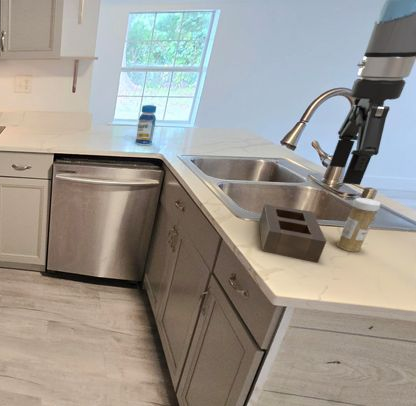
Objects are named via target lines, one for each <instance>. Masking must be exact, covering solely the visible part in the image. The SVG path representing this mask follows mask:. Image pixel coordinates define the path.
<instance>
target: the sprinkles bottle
mask: <svg viewBox="0 0 416 406" xmlns="http://www.w3.org/2000/svg"><path fill="white" fill-rule="evenodd" d="M381 205H382V203H381V202H379V201H378V200H375V199H372V198H366V197H357V198H355V199H354V201H353V203H352V207H351V210H350V213H349V214H348V217H347V219H346V221H345V224H344V227H343V229H342V231H341V235H340V237H339V239H338V242H337V243H336V246H337V247H338V248H340V249H342V250H344V251H348V252H360V251H362V246H363V243H364V242H365V240H366V237H367V235H368V232H369V231H370V228H371V226H372V223H373V220H374V218H375V216H376V214H377V212H378V211H379V210H380V208H381Z"/></svg>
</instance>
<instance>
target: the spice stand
mask: <svg viewBox="0 0 416 406" xmlns="http://www.w3.org/2000/svg"><path fill="white" fill-rule="evenodd" d="M258 225H259V226H258V227H259V235H260V241H261V242H260V243H261V250H262V252H265V253H270V254H275V255H278V256H282V257H283V256H284V257H288V258H294V259H298V260H303V261H307V262H312V263H319V261H320V258H321V256H322V255H323V251H324V249H325V246H326V244H327V240H326V237H325V235H324V232H323V230H322V228H321V226H320V224H319V222H318V219H317V217H316V215H315V212H314V211H310V210H304V209H297V208H292V207H286V206H285V207H284V206H278V205H272V204H266V203H265V204H264V205H263V208H262V211H261V214H260V216H259V221H258Z"/></svg>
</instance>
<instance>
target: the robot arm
mask: <svg viewBox="0 0 416 406" xmlns="http://www.w3.org/2000/svg"><path fill="white" fill-rule="evenodd" d="M415 62H416V0H385V1H384V3H383V4H382V7H381V8H380V10H379V13H378V14H377V17H376V20H375V21H374V23H373V28H372V31H371V35H370V37H369V40H368V43H367V47H366V49H365V52H364V55H363V58H362V61H358V62H357V64H356V66H357V67H359V68H358V72H357V74H356V76H357V77H359V78H357V79H355V80H354V82H353V84H352V87H351V90H350V93H349V96H350V97H351V98H354V100H353V102H352V105H351V107H350V109H349V111H348V113H347V115H346V116H345V119H344V121H343V122H342V124H341V126H340V128H339V130H338V132H337V135H338V140H337V143H336V146H335V149H334V151H333V154H332V157H331V159H330V162H329V167H336V168H344V169H345V168H346V165H347V163H348V160H349V157H350V155H351V159H350V161H349V163H348V166H347V168H346V171H345V174H344V176H343V178H342V180H341V182H342V183H343V184H348V185H349V184H350V185H357V186H359V185H361V183H362V181H363V178H364V176H365V173H366V171H367V168H368V166H369V164H370V161H371V159H372V157H373V156H377V155H378V154H379V150H380V145H381V141H382V137H383V133H384V129H385V128H384V127H385V123H386V120H387V116H388V114H389V111H390V106H387V105H386V106H384V105H385V101H387V100H390V101H392V100H397V99H399V98H400V97H401V95H402V93H403V91H404V88H405V85H406V83H407V82H406V80H404V78H405V79H406V78H408V77H410V74H411V72H412V71H413V67H414V65H415ZM355 141H356V148H355V149H353V147H354V144H355Z"/></svg>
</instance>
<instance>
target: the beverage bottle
mask: <svg viewBox="0 0 416 406" xmlns="http://www.w3.org/2000/svg"><path fill="white" fill-rule="evenodd" d="M156 112H157V106H156V105H154V104H153V105H151V104H144V105H142V107H141V114H140V116H139V118H138V123H137V129H136V137H135V144H137V145H139V146H151V145H152V144H153V138H154V132H155V127H156V121H157V118H156V117H157V116H156V115H155V113H156Z"/></svg>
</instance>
